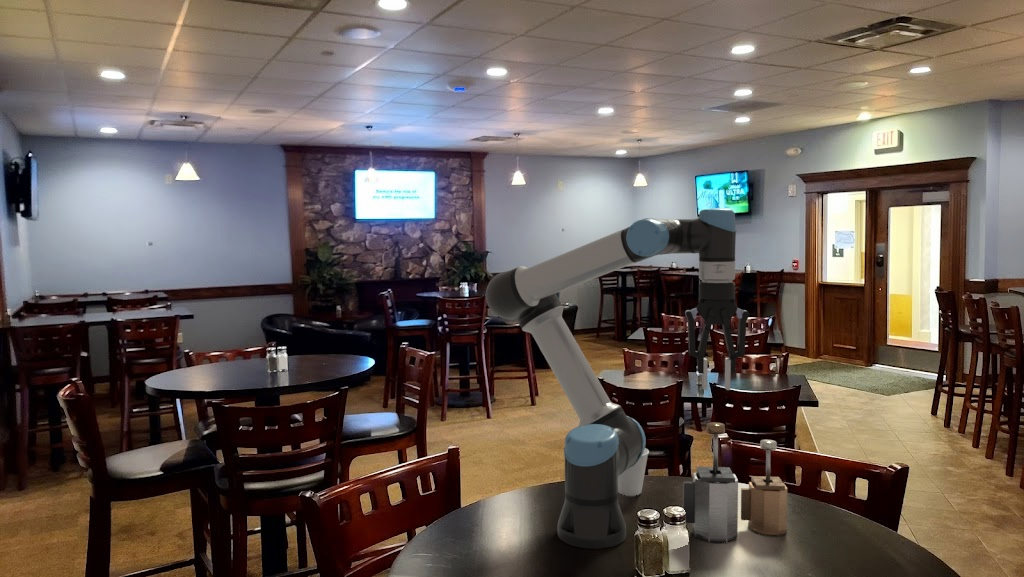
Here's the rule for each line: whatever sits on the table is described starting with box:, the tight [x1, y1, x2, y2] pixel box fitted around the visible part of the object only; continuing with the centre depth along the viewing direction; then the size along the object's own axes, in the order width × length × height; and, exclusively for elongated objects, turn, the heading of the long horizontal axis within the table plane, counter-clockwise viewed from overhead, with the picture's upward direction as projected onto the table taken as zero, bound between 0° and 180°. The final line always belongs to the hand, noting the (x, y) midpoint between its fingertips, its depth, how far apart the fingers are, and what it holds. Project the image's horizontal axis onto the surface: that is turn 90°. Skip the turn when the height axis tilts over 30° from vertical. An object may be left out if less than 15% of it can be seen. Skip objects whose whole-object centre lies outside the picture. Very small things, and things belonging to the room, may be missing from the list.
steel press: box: [682, 466, 739, 544], centre depth 160 cm, size 12×10×14 cm
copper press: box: [740, 475, 788, 538], centre depth 162 cm, size 10×8×11 cm
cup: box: [618, 447, 650, 497], centre depth 186 cm, size 10×10×11 cm
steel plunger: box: [706, 422, 726, 483], centre depth 159 cm, size 7×7×13 cm
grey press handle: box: [754, 439, 779, 491], centre depth 162 cm, size 6×6×11 cm
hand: (716, 388), depth 158 cm, fingers open, 4 cm apart
